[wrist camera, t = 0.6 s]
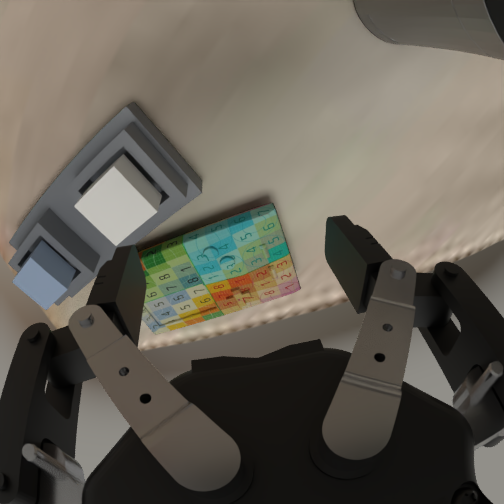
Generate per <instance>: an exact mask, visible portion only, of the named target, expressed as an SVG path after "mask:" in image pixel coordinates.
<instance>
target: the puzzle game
mask: <svg viewBox="0 0 504 504" xmlns="http://www.w3.org/2000/svg"><path fill="white" fill-rule="evenodd" d="M138 255H139V258H140V261H141V264H142V268H143V271H144V274H145V277H146V285H147V288H146V295H145V301H144V307H143V313H142V320H143V321H144V322H145V323H146V325H147V326H148V327H149V328H150V329H151V330H152V332H153V333H154V334H155V335H156V334H160V333H164V332H167V331H171V330H175V329H178V328H182V327H185V326H189V325H192V324H196V323H199V322H202V321H206V320H209V319H213V318H216V317H219V316H223V315H226V314H229V313H232V312H236V311H239V310H242V309H245V308H248V307H252V306H255V305H258V304H261V303H264V302H267V301H270V300H273V299H276V298H279V297H283V296H286V295H289V294H292V293H295V292H296V291H298V290H300V289H301V287H300V284H299V281H298V278H297V274H296V271H295V268H294V265H293V261H292V258H291V255H290V252H289V249H288V246H287V243H286V239H285V236H284V233H283V230H282V227H281V224H280V221H279V218H278V215H277V212H276V209H275V206H274V204H273V203H269V204H265V205H262V206H259V207H256V208H254V209H251V210H248V211H245V212H242V213H240V214H237V215H234V216H231V217H229V218H226V219H223V220H220V221H218V222H215V223H212V224H210V225H207V226H204V227H202V228H199V229H196V230H194V231H191V232H188V233H186V234H183V235H180V236H178V237H175V238H173V239H170V240H167V241H165V242H162V243H160V244H157V245H155V246H152V247H150V248H147V249H145V250H142V251H140V252H138Z"/></svg>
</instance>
